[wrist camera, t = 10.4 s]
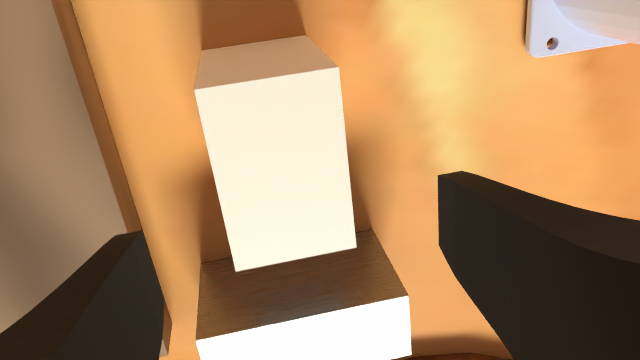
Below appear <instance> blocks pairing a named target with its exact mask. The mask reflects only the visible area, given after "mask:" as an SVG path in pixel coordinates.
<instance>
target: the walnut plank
mask: <svg viewBox="0 0 640 360" xmlns="http://www.w3.org/2000/svg"><path fill="white" fill-rule="evenodd" d="M141 230H142V227H141V224H140V221H139V218H138V215H137V211H136V208H135V205H134V202H133V199H132V195H131V192H130V189H129V186H128V183H127V180H126V176H125V173H124V170H123V167H122V164H121V161H120V157H119V154H118V151H117V148H116V145H115V141H114V138H113V135H112V132H111V129H110V126H109V122H108V119H107V116H106V113H105V110H104V107H103V103H102V100H101V97H100V94H99V91H98V87H97V84H96V81H95V78H94V75H93V72H92V68H91V65H90V62H89V59H88V56H87V52H86V49H85V46H84V43H83V40H82V37H81V33H80V30H79V27H78V24H77V21H76V18H75V14H74V11H73V8H72V5H71V2H70V0H0V333H1V332H3V331H4V330H6V329H7V328H8V327H10V326H11V325H12V324H14V323H15V322H16V321H18V320H19V319H20V318H22V317H23V316H24V315H25V314H27V313H28V312H29V311H30V310H32V309H33V308H34V307H35V306H36V305H37V304H39V303H40V302H41V301H42V300H43V299H45V298H46V297H47V296H48V295H49V294H50V293H52V292H53V291H54V290H55V289H56V288H57V287H59V286H60V285H61V284H62V283H63V282H64V281H65V280H66V279H68V278H69V277H70V276H71V275H72V274H73V273H74V272H75V271H76V270H77V269H78V268H79V267H80V266H82V265H83V264H84V263H85V262H86V261H87V260H88V259H89V258H90V257H91V256H92V255H93V254H94V253H95V252H97V251H98V250H99V249H100V248H101V247H102V246H103V245H104V244H105V243H106V242H108V241H109V240H110V239H111V238H113V237H114V236H115V235H119V234H125V233H130V232H135V231H141ZM142 231H143V230H142ZM147 247H148V246H147ZM148 250H149V249H148ZM153 266H154V265H153ZM159 285H160V284H159ZM171 329H172V323H171V319H170V316H169V313H168V310H167V307H166V303H165V300H164V325H163V339H162V345H161V350H160V355H159V357H161V356H166V355H168V352H169V344H170V337H171Z"/></svg>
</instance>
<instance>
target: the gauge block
mask: <svg viewBox="0 0 640 360" xmlns="http://www.w3.org/2000/svg"><path fill="white" fill-rule="evenodd" d="M194 92H195V96H196V100H197V105H198V109H199V114H200V118H201V122H202V127H203V131H204V135H205V140H206V144H207V148H208V153H209V157H210V162H211V166H212V170H213V175H214V179H215V183H216V188H217V192H218V196H219V201H220V205H221V210H222V214H223V218H224V223H225V227H226V231H227V236H228V240H229V245H230V249H231V253H232V258H233V262H234V266H235V271H236V272H237V271H242V270H247V269H252V268H257V267H262V266H267V265H272V264H277V263H282V262H287V261H292V260H297V259H302V258H307V257H312V256H317V255H322V254H327V253H332V252H337V251H342V250H347V249H352V248H357V247H356V237H355V227H354V216H353V206H352V196H351V186H350V176H349V166H348V156H347V145H346V135H345V125H344V115H343V105H342V95H341V85H340V75H339V67H338V66H337V65H336V64H335V63H334V62H333V61H332V60H331V59H330V58H329V57H328V56H327V55H326V54H325V53H324V52H323V51H322V50H321V49H320V48H319V47H318V46H317V45H316V44H315V43H314V42H313V41H312V40H311V39H310V38H309V37H308V36H307V35H302V36H295V37H289V38H282V39H275V40H269V41H262V42H255V43H248V44H242V45H235V46H228V47H222V48H215V49H208V50H202V51H201V57H200V62H199V67H198V72H197V77H196V82H195V88H194Z"/></svg>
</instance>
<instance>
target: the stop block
mask: <svg viewBox="0 0 640 360" xmlns="http://www.w3.org/2000/svg"><path fill="white" fill-rule="evenodd" d="M355 237H356V247H357V248H352V249H347V250H342V251H337V252H332V253H327V254H322V255H317V256H312V257H307V258H302V259H297V260H292V261H287V262H282V263H277V264H272V265H267V266H262V267H257V268H252V269H247V270H242V271H237V272H236V271H235V266H234V262H233V258H227V259H222V260H216V261H211V262H206V263H201V269H200V284H199V299H198V314H197V329H196V344H197V347H198V351H199V354H200V357H201V360H391V359H395V358H399V357H404V356H408V355H412V354H411V333H410V313H409V295H408V293H407V292H406V290H405V288H404V286H403V284H402V282H401V281H400V279H399V277H398V275H397V273H396V271H395V270H394V268H393V266H392V264H391V262H390V260H389V259H388V257H387V255H386V253H385V251H384V249H383V248H382V246H381V244H380V242H379V240H378V238H377V236H376V235H375V233H374V231H373V230H369V231H364V232H359V233H355Z"/></svg>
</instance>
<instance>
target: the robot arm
mask: <svg viewBox="0 0 640 360" xmlns="http://www.w3.org/2000/svg"><path fill="white" fill-rule="evenodd" d="M550 38H553V43H552V45H551V46H550V47H549V48H547V42H548V40H549V39H550ZM626 43H635V44H639V45H640V0H528V9H527V25H526V42H525V48H526V52H527V53H528V54H529V55H531V56H533V57H538V58H540V57H546V56H552V55H558V54H565V53H571V52H577V51H583V50H589V49H595V48H601V47H607V46H613V45H619V44H626ZM438 218H439V246H440V248H441V250H442V252H443V254H444V256H445V258H446V260H447V262H448V264H449V266H450V268H451V270H452V272H453V273H454V275H455V277H456V278H457V280H458V281H459V283H460V284H461V285H462V287H463V288H464V290H465V291H466V292H467V294H468V295H469V297H470V298H471V299H472V301H473V302H474V304H475V305H476V306H477V308H478V309H479V310H480V312H481V313H482V314H483V316H484V317H485V319H486V320H487V321H488V323H489V324H490V325H491V327H492V328H493V329H494V331H495V332H496V334H497V335H498V336H499V338H500V339H501V340H502V342H503V343H504V345H505V346H506V348H507V349H508V351H509V352H510V354H511V355H512V357H513V358H514V360H640V221H639V220H633V219H627V218H622V217H617V216H612V215H607V214H603V213H598V212H594V211H589V210H585V209H581V208H577V207H573V206H570V205H567V204H563V203H560V202H556V201H553V200H549V199H546V198H543V197H540V196H537V195H534V194H531V193H528V192H525V191H522V190H519V189H516V188H513V187H510V186H508V185H505V184H502V183H499V182H496V181H493V180H491V179H488V178H485V177H482V176H479V175H475V174H472V173H468V172H464V171H459V172H453V173H448V174H442V175H438ZM163 325H164V297H163V294H162V291H161V288H160V285H159V281H158V278H157V275H156V272H155V269H154V266H153V262H152V259H151V256H150V253H149V250H148V247H147V243H146V240H145V237H144V234H143V231H142V230H141V231H135V232H130V233H125V234H119V235H115V236H114V237H113V238H111V239H110V240H109V241H108V242H106V243H105V244H104V245H103V246H102V247H101V248H100V249H99V250H98V251H97V252H95V253H94V254H93V255H92V256H91V257H90V258H89V259H88V260H87V261H86V262H85V263H84V264H83V265H82V266H80V267H79V268H78V269H77V270H76V271H75V272H74V273H73V274H72V275H71V276H70V277H69V278H68V279H66V280H65V281H64V282H63V283H62V284H61V285H60V286H59V287H57V288H56V289H55V290H54V291H53V292H52V293H50V294H49V295H48V296H47V297H46V298H45V299H43V300H42V301H41V302H40V303H39V304H37V305H36V306H35V307H34V308H33V309H32V310H30V311H29V312H28V313H27V314H25V315H24V316H23V317H22V318H20V319H19V320H18V321H16V322H15V323H14V324H12V325H11V326H10V327H8V328H7V329H6V330H4V331H3V332H1V333H0V360H159V355H160V350H161V345H162V339H163Z"/></svg>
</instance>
